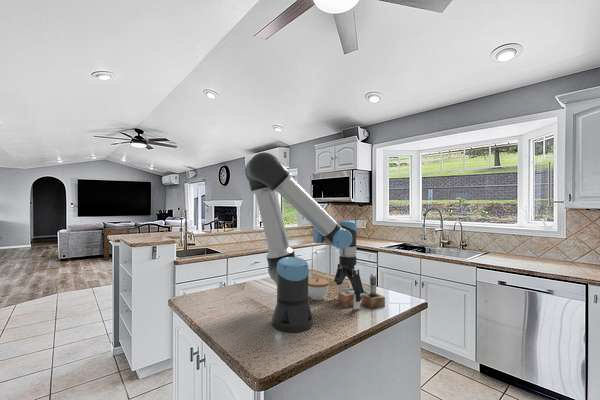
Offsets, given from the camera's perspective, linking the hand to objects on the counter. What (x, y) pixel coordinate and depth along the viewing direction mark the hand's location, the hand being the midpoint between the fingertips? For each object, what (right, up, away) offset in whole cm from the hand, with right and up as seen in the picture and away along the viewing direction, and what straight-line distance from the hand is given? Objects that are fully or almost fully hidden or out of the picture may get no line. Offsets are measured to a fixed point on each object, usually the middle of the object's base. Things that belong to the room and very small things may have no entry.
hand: (348, 303), depth 128 cm
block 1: (0, 0, 0) cm, 0 cm away
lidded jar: (-13, 0, +8) cm, 15 cm away
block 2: (+11, 0, -1) cm, 11 cm away
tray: (+5, 0, +13) cm, 14 cm away
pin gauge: (+11, 0, -1) cm, 11 cm away
